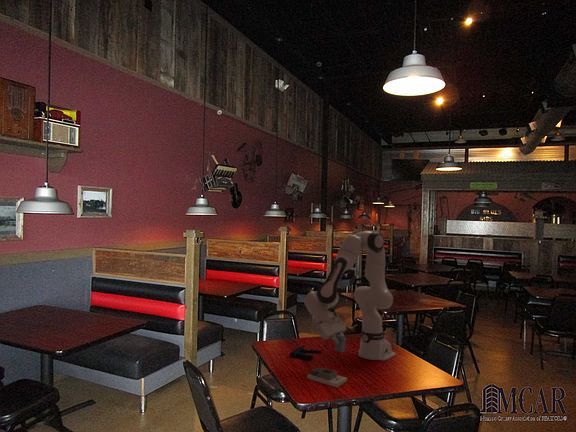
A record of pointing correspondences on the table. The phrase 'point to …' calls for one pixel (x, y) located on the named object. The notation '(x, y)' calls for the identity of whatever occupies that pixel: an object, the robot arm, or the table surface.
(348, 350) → the table surface
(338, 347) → the block
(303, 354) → the gun
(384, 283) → the robot arm
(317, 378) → the chassis
